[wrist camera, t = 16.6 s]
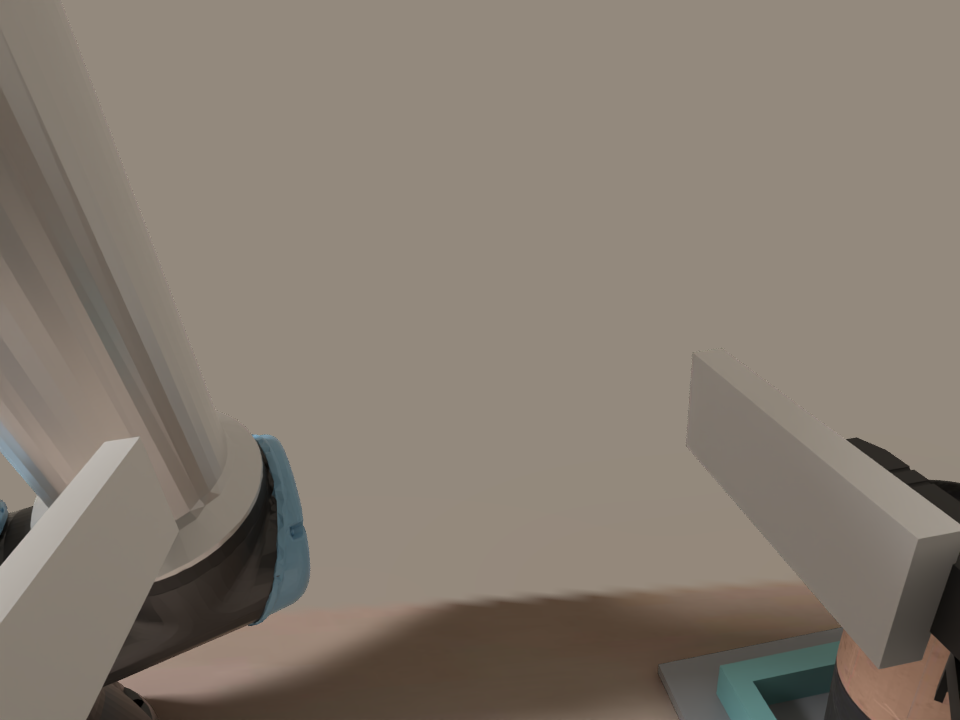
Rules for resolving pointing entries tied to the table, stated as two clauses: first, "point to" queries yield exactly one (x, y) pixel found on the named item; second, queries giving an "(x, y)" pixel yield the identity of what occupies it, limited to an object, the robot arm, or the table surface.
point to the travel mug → (889, 678)
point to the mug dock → (756, 680)
